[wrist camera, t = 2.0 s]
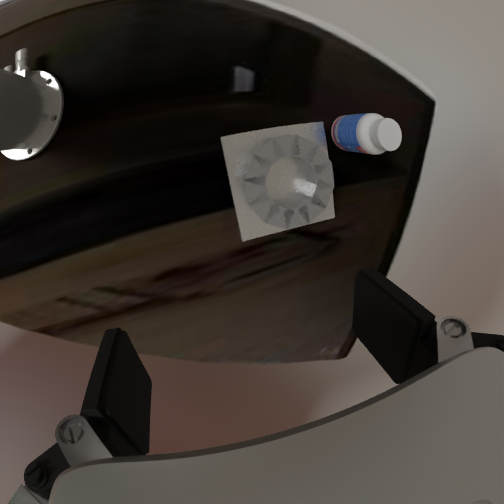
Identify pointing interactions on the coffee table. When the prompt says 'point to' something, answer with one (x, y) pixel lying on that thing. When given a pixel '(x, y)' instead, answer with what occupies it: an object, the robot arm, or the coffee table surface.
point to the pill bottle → (366, 133)
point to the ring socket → (279, 178)
